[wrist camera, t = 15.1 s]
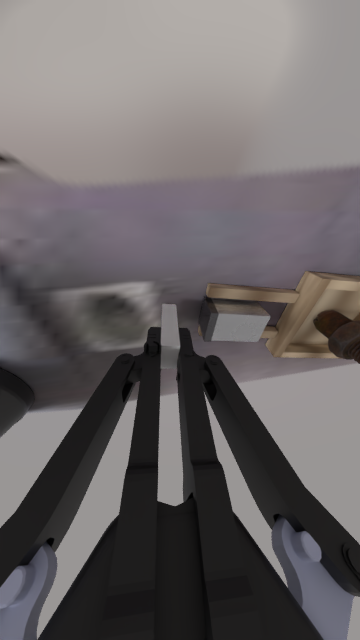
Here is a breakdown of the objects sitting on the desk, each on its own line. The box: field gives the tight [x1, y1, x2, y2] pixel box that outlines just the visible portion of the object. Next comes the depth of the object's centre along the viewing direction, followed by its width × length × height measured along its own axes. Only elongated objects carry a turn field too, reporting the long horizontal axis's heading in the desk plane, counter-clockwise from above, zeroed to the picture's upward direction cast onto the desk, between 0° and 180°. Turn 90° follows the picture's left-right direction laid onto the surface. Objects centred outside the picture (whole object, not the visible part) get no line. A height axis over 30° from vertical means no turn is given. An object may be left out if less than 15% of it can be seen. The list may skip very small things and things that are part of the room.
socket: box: [198, 271, 360, 358], centre depth 21 cm, size 23×12×2 cm, turn 84°
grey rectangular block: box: [199, 297, 271, 342], centre depth 19 cm, size 6×4×4 cm, turn 84°
